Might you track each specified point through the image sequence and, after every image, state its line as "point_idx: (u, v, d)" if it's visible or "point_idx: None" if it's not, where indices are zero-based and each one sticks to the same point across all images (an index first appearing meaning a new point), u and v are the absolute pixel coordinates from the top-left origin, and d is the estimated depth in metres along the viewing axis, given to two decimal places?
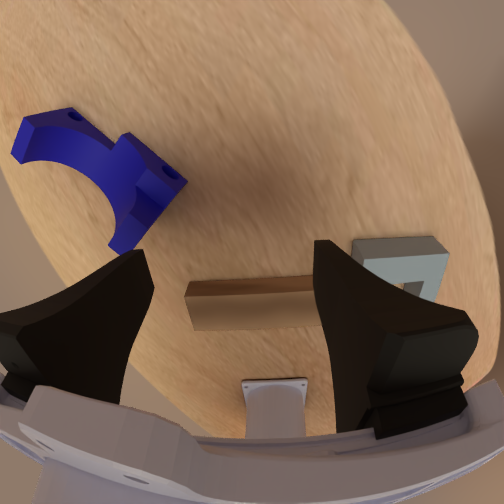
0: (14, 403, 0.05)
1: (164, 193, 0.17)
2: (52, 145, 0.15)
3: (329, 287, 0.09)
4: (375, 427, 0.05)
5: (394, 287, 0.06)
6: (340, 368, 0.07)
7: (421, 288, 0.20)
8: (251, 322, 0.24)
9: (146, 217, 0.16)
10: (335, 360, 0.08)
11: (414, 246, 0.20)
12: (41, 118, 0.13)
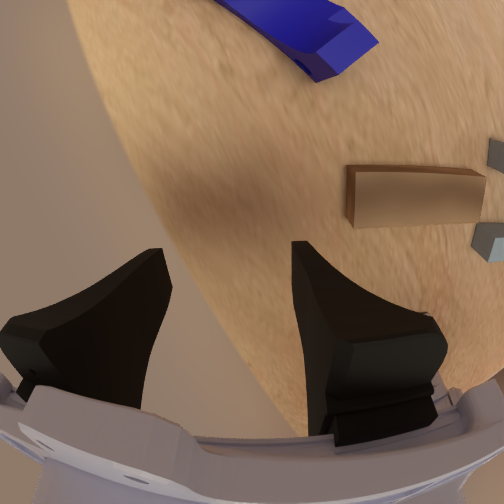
0: (14, 403, 0.05)
1: None
2: None
3: (302, 289, 0.09)
4: (335, 434, 0.05)
5: (363, 290, 0.07)
6: (310, 371, 0.07)
7: None
8: (419, 214, 0.17)
9: None
10: (307, 362, 0.08)
11: None
12: None
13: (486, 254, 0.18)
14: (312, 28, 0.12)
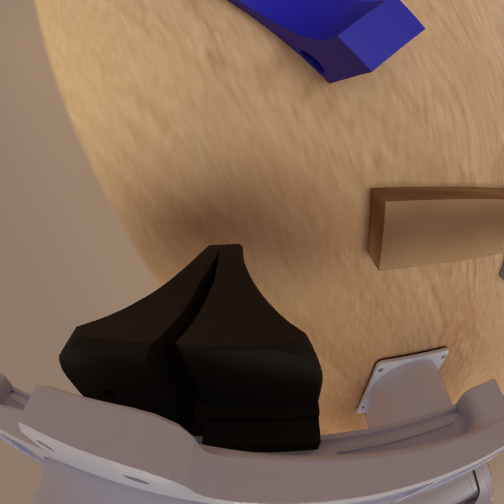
0: (14, 403, 0.05)
1: None
2: None
3: None
4: (207, 437, 0.05)
5: (258, 296, 0.07)
6: None
7: None
8: (455, 248, 0.13)
9: None
10: None
11: None
12: None
13: None
14: (326, 8, 0.08)
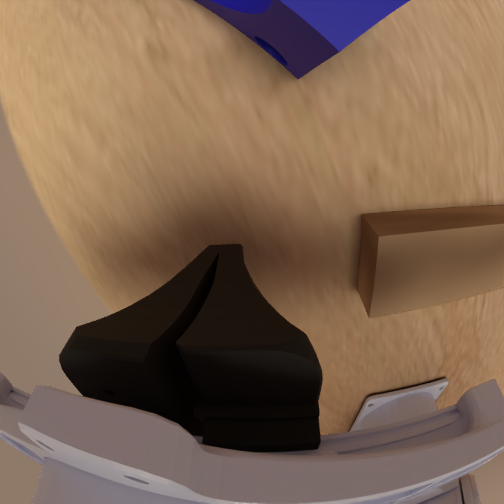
0: (14, 403, 0.05)
1: None
2: None
3: None
4: (207, 437, 0.05)
5: (258, 296, 0.07)
6: None
7: None
8: (466, 285, 0.10)
9: None
10: None
11: None
12: None
13: None
14: None
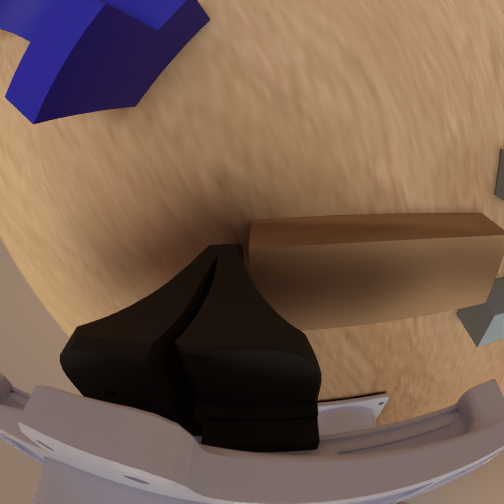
0: (14, 403, 0.05)
1: None
2: None
3: None
4: (206, 437, 0.05)
5: (257, 296, 0.07)
6: None
7: None
8: (383, 307, 0.11)
9: (109, 5, 0.04)
10: None
11: None
12: None
13: (477, 335, 0.12)
14: None
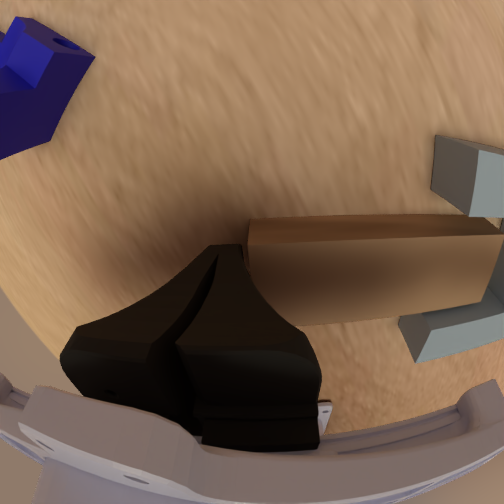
0: (14, 403, 0.05)
1: (37, 60, 0.06)
2: None
3: None
4: (206, 437, 0.05)
5: (257, 296, 0.07)
6: None
7: None
8: (379, 304, 0.11)
9: None
10: None
11: None
12: None
13: (415, 350, 0.12)
14: None
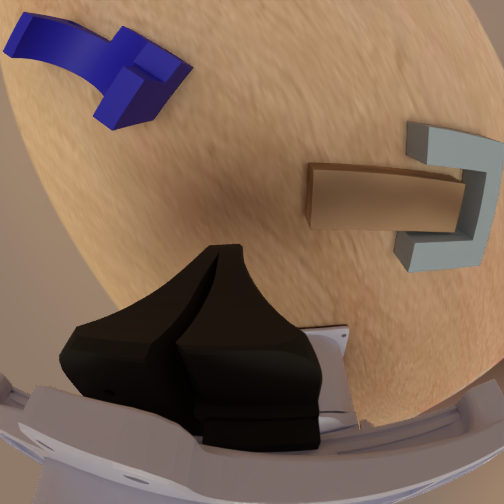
0: (14, 403, 0.05)
1: (166, 64, 0.12)
2: (47, 42, 0.10)
3: None
4: (206, 437, 0.05)
5: (258, 296, 0.07)
6: None
7: (484, 183, 0.14)
8: (385, 219, 0.17)
9: (143, 76, 0.11)
10: None
11: (470, 133, 0.14)
12: (40, 15, 0.08)
13: (406, 262, 0.19)
14: None
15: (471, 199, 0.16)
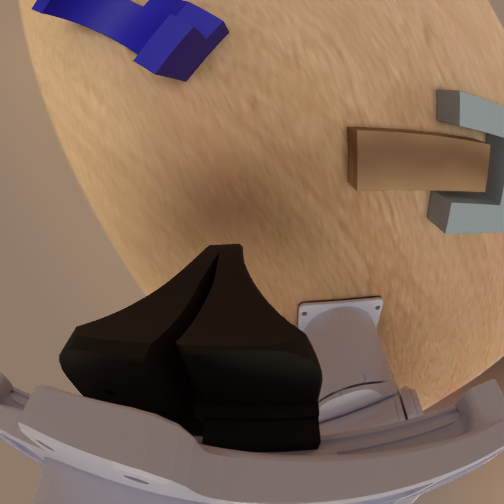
0: (14, 403, 0.05)
1: (207, 22, 0.11)
2: (78, 2, 0.09)
3: None
4: (207, 437, 0.05)
5: (258, 296, 0.07)
6: None
7: None
8: (425, 178, 0.16)
9: None
10: None
11: None
12: None
13: (443, 224, 0.17)
14: None
15: (496, 166, 0.15)
